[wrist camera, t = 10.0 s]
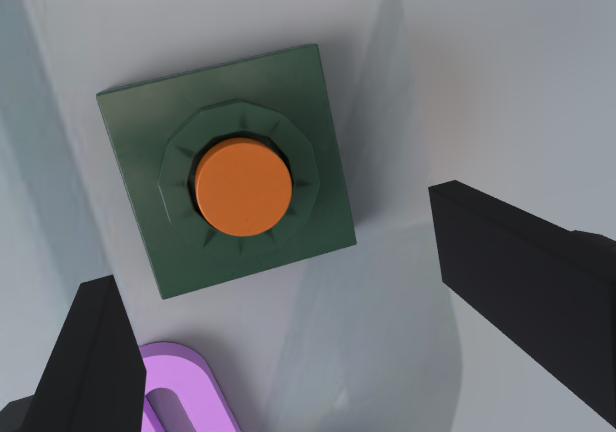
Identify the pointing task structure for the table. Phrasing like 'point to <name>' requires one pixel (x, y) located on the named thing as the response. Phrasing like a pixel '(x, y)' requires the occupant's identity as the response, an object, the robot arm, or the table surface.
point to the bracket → (185, 388)
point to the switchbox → (207, 133)
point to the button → (242, 187)
